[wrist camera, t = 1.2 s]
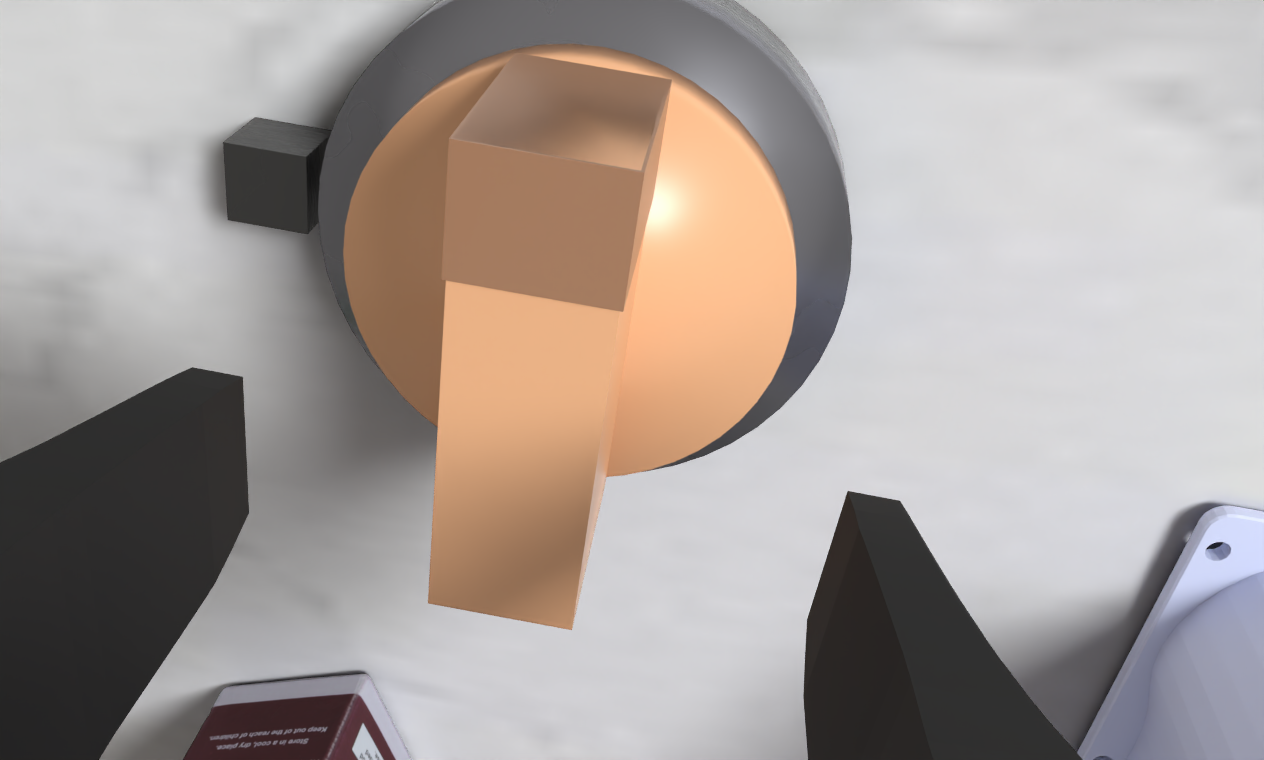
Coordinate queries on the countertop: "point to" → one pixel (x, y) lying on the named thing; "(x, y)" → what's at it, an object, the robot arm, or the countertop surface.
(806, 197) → the post base
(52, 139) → the countertop surface
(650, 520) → the countertop surface
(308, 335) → the countertop surface
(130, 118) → the countertop surface
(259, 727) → the supplement box
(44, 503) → the robot arm
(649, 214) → the twist cap
